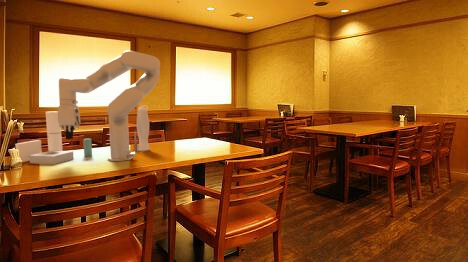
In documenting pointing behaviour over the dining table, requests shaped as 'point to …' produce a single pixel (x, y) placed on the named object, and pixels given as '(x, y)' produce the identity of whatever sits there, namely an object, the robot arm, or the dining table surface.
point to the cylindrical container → (53, 131)
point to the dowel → (87, 147)
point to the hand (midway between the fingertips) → (69, 139)
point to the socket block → (51, 157)
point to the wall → (28, 149)
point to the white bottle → (142, 130)
